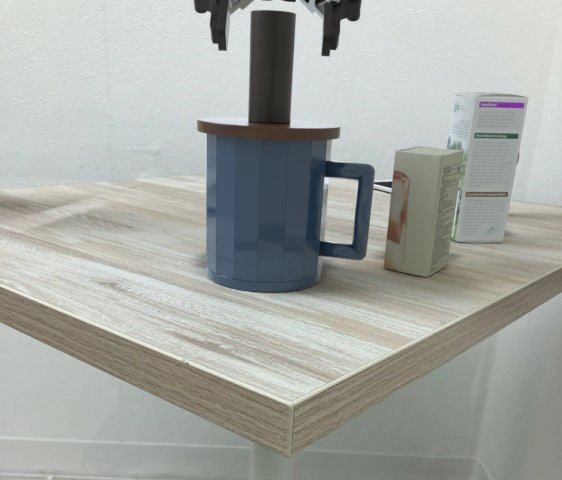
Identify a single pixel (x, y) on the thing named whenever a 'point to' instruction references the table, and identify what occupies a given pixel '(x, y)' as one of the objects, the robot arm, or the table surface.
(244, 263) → the blue faceted mug
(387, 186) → the cell phone
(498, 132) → the syrup box
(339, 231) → the table surface
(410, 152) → the printed cream carton
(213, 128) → the lid
